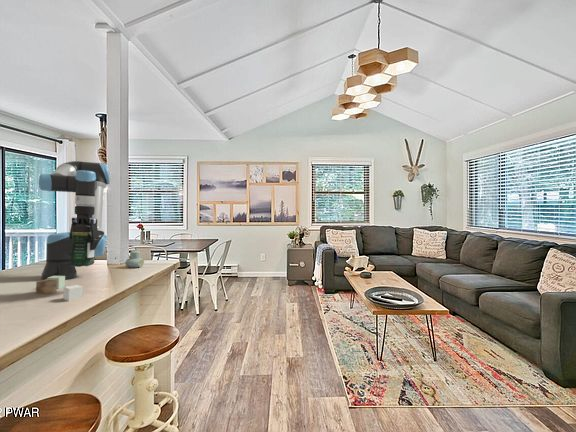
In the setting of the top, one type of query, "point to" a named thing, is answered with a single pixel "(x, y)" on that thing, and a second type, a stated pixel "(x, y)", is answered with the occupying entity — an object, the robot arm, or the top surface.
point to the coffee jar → (80, 246)
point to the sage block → (58, 281)
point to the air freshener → (134, 260)
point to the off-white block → (73, 293)
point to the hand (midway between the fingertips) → (83, 256)
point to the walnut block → (46, 286)
